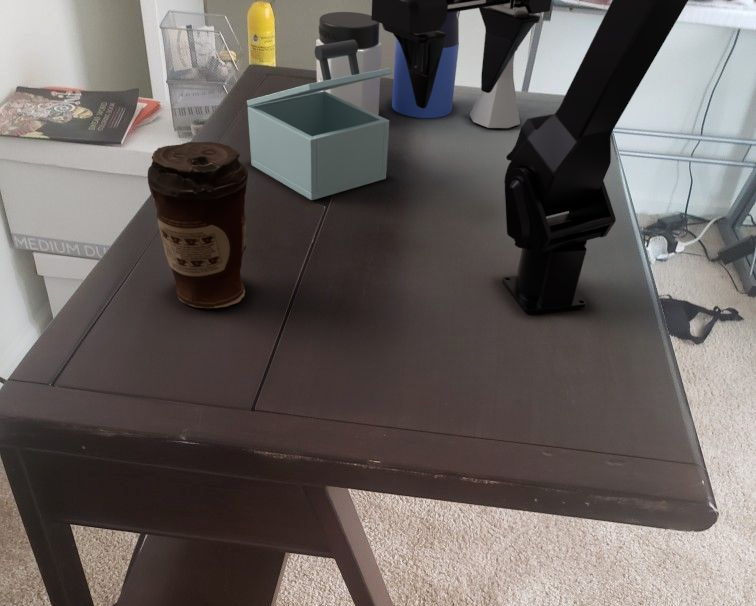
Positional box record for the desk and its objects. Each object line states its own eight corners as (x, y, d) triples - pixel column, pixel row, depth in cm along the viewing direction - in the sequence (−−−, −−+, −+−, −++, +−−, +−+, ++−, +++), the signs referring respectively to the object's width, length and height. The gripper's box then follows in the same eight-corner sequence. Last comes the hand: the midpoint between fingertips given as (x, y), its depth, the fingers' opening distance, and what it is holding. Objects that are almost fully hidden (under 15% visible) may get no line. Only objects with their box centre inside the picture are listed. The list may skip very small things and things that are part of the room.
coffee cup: (237, 325, 67) (223, 180, 58) (151, 311, 68) (123, 166, 59) (266, 279, 74) (258, 141, 64) (187, 267, 74) (167, 129, 65)
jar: (309, 108, 109) (307, 12, 101) (358, 102, 112) (361, 9, 104) (335, 129, 104) (336, 29, 95) (386, 122, 107) (392, 25, 98)
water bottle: (437, 95, 116) (458, -111, 98) (462, 116, 110) (489, -100, 92) (382, 99, 114) (392, -112, 96) (404, 120, 108) (420, -101, 90)
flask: (460, 115, 110) (470, 38, 103) (502, 111, 113) (514, 35, 106) (485, 132, 106) (497, 53, 99) (528, 127, 108) (542, 49, 101)
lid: (392, 73, 84) (385, 32, 82) (310, 90, 79) (300, 46, 77) (324, 90, 94) (317, 54, 92) (247, 106, 88) (238, 68, 86)
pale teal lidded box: (386, 178, 92) (389, 120, 88) (311, 200, 87) (310, 139, 82) (324, 146, 99) (324, 90, 94) (251, 165, 93) (247, 106, 88)
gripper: (484, -114, 73) (463, 64, 84) (334, -108, 64) (332, 92, 75) (573, -97, 67) (538, 92, 78) (422, -87, 58) (406, 125, 69)
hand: (454, 99), depth 75 cm, fingers open, 9 cm apart
